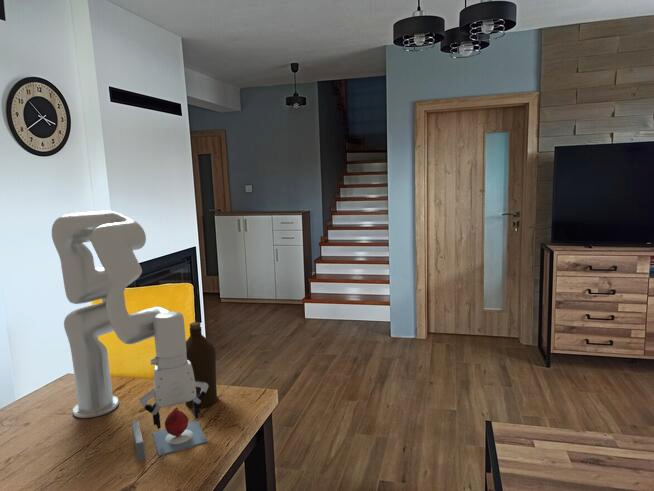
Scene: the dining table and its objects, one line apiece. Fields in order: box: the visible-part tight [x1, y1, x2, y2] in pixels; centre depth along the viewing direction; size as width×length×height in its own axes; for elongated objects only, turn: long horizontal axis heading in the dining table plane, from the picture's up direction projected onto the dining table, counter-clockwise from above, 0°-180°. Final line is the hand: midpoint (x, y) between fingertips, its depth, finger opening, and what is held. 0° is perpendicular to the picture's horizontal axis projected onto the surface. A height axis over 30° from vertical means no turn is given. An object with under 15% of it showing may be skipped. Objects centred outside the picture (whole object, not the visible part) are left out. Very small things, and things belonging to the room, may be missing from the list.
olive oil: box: [185, 321, 218, 409], centre depth 142 cm, size 11×11×25 cm
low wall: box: [131, 420, 146, 463], centre depth 119 cm, size 12×2×5 cm, turn 28°
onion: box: [164, 406, 189, 437], centre depth 123 cm, size 6×6×8 cm
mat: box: [152, 420, 208, 457], centre depth 124 cm, size 12×12×1 cm
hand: (177, 421), depth 123 cm, fingers open, 9 cm apart
